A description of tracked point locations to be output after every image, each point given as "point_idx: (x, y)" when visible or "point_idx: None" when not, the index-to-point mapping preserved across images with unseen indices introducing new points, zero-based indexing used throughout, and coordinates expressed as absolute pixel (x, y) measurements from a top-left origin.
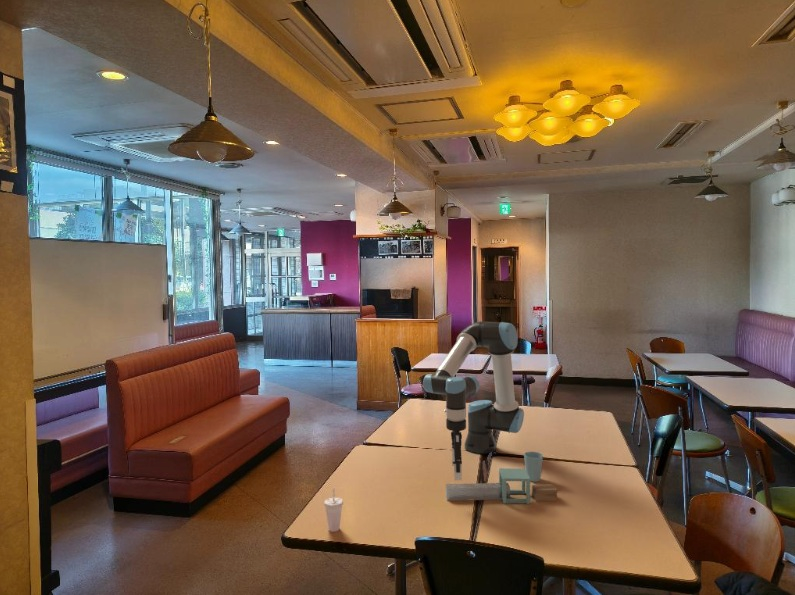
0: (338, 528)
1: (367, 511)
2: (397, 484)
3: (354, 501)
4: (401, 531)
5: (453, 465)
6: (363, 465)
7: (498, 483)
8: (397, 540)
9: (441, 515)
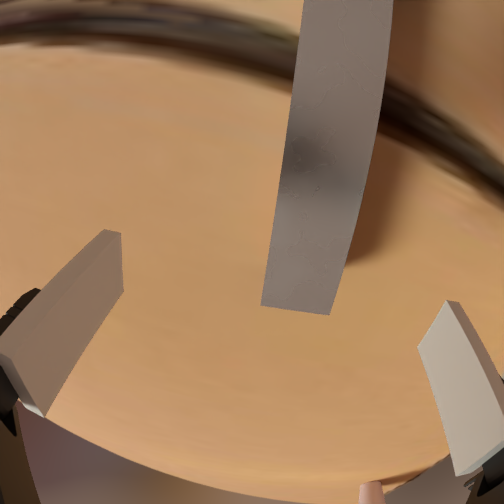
0: (380, 484)
1: (320, 461)
2: (140, 388)
3: (255, 468)
4: None
5: (122, 285)
6: None
7: None
8: None
9: None
